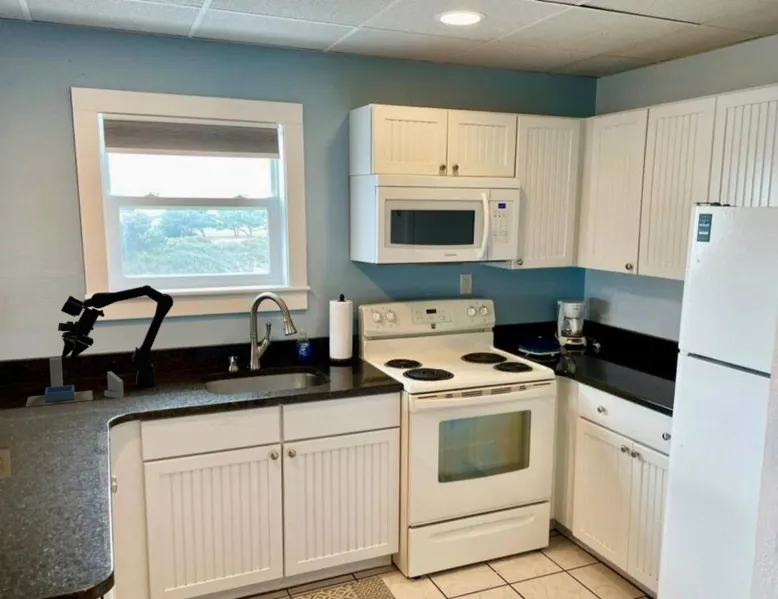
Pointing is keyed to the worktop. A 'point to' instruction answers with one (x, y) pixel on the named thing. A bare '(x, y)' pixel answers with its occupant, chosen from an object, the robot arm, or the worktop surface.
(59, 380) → the connector column
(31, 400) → the board
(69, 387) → the box
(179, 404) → the worktop surface
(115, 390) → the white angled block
